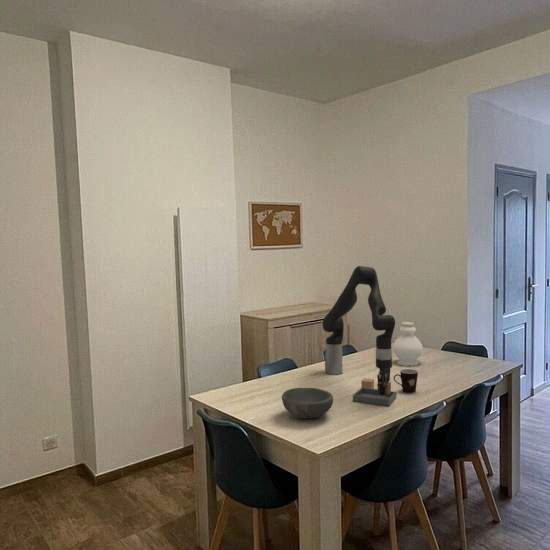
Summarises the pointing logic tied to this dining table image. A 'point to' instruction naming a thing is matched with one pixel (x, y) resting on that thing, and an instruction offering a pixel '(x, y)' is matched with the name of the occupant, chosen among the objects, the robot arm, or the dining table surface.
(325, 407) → the bowl
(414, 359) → the decorative vase
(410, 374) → the coffee mug
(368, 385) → the terracotta block
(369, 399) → the charcoal tray
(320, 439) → the dining table surface
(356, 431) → the dining table surface
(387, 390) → the walnut block
